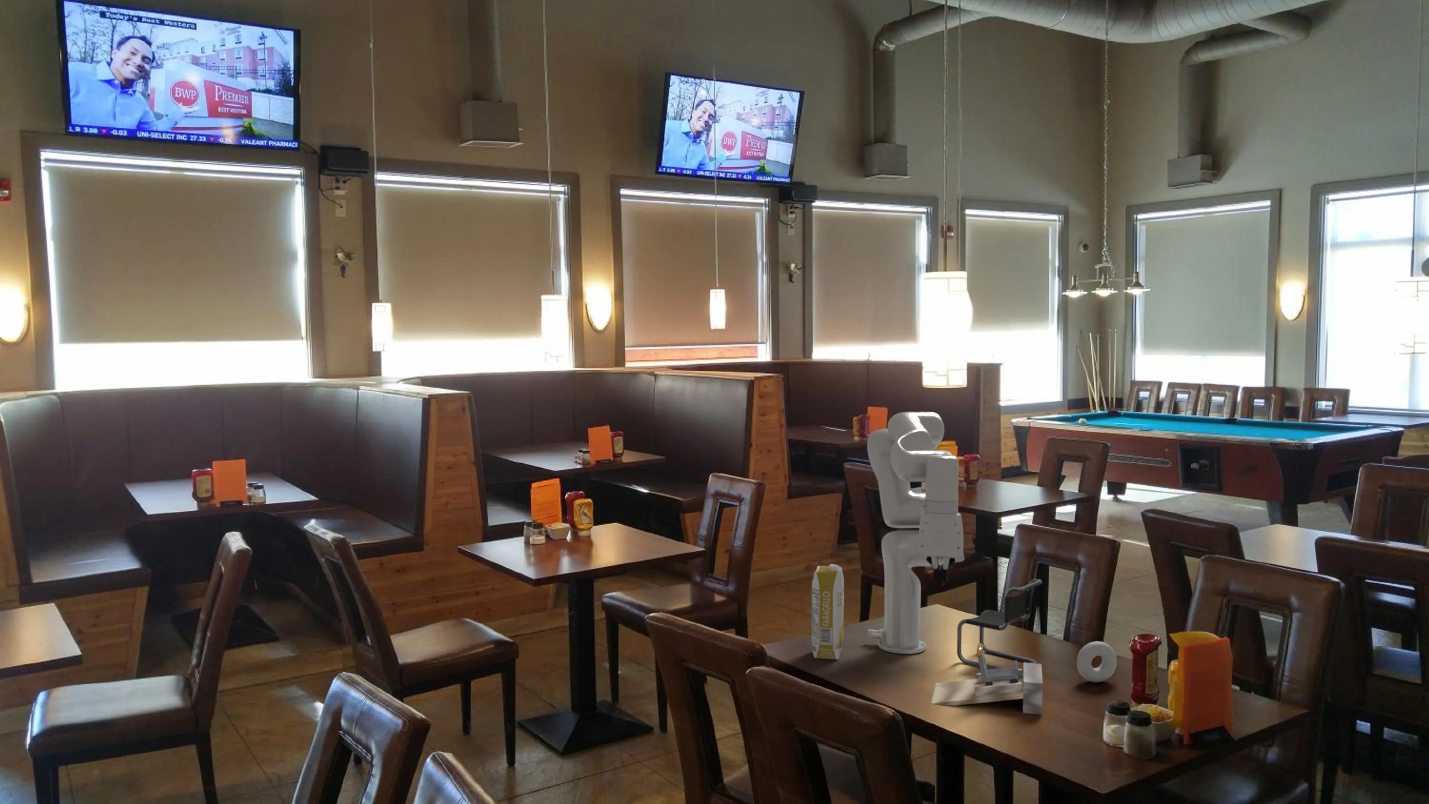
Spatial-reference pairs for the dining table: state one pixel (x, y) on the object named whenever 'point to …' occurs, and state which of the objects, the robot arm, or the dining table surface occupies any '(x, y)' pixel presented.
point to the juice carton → (827, 612)
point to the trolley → (996, 670)
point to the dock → (995, 690)
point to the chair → (1001, 621)
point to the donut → (1087, 656)
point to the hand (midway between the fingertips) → (940, 584)
